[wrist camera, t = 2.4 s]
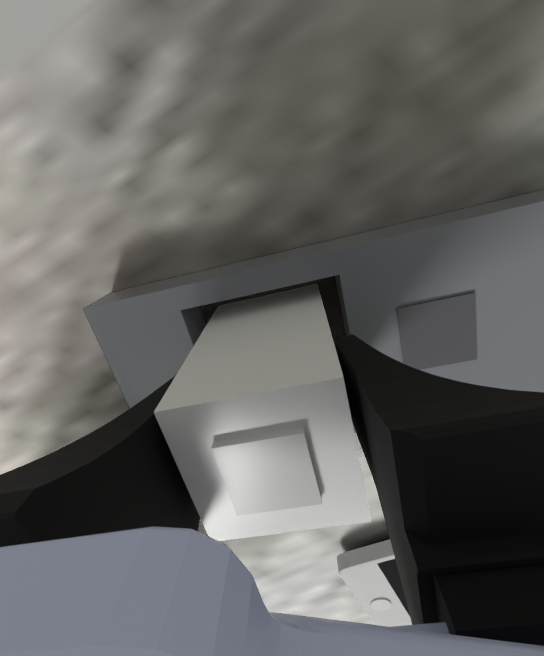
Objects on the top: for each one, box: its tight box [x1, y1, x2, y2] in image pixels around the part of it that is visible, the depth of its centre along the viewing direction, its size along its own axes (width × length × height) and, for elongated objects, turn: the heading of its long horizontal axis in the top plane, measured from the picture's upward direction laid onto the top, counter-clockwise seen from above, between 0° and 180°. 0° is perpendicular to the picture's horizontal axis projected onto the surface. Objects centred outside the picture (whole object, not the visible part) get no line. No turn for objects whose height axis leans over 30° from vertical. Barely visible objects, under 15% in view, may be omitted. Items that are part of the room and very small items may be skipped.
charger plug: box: [154, 284, 371, 541], centre depth 11 cm, size 4×4×7 cm
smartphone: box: [337, 539, 412, 627], centre depth 17 cm, size 7×15×1 cm, turn 117°
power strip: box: [83, 189, 544, 433], centre depth 13 cm, size 18×7×2 cm, turn 104°
